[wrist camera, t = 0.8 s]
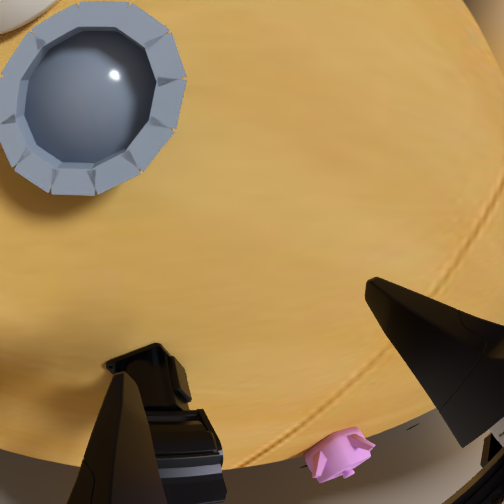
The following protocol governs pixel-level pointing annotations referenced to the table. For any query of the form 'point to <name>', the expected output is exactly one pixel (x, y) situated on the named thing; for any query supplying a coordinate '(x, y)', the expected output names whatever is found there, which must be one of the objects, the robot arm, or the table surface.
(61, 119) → the bowl
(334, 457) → the teakettle
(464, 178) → the table surface
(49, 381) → the table surface
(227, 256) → the table surface
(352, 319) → the table surface
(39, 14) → the lid
